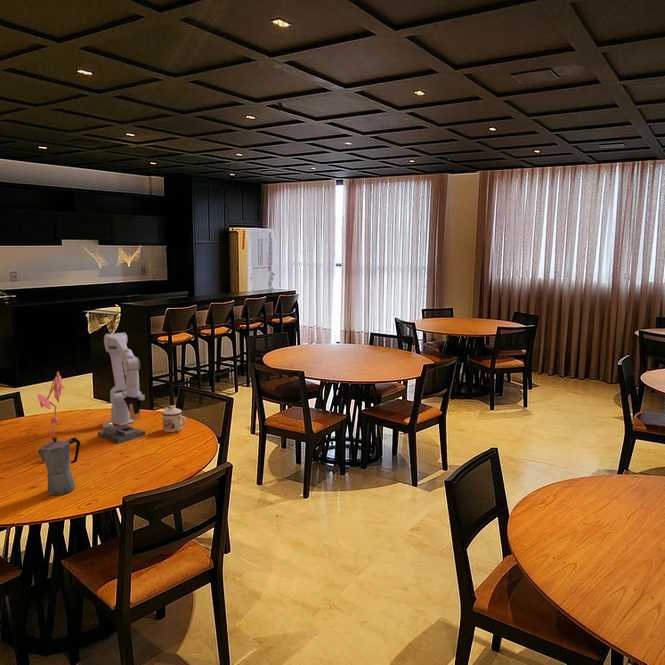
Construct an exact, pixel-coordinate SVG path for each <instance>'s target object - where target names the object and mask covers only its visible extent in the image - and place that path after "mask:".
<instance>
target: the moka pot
mask: <svg viewBox="0 0 665 665" xmlns="http://www.w3.org/2000/svg"><path fill="white" fill-rule="evenodd" d="M74 443H76V444H75V445H76V446H75V453H74V454H75V456H74V458H73V460H70V450H71V449H70V446H71V445H73V444H74ZM80 447H81V440H79V439H78V438H76V437H75V436H74V437H71V438H68V439H65V440H58V438H57V437H56V436H55V437H54V436H53V437H51V442H50V441H49V442H46V443H45V444H42V445H41V446H40V448H39V449H38V450H37V451H36V453H37V454H39V456H40V457H41V458H42V460H43V461H44V463H45V466H46V470H47V474H46V476H47V493H48V494H49V495H50V496H60V495H65V494H67V493H70V492H72V491H73V490H75V488H76V485H75V482H74V481H75V480H74V478H73V474H72V471H71V468H70V464H71V465H73V464H74V463H77V462H78V457H79V456H78V455H79V454H80V453H79V451H80Z"/></svg>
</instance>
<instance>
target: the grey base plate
mask: <svg viewBox="0 0 665 665" xmlns="http://www.w3.org/2000/svg"><path fill="white" fill-rule="evenodd" d="M144 436H146V431H145V430H143V429H140V428H137V427H134V426H130V425H128V424H124V425H118V426H115V427H114V423H113V422H111V420H109V421H105V422H104V421H103V422H102V430H101V431H97V437H100V439H105V440H106V441H107V440H108V441H110V442H112V443H114V444H121V443H126V442H127V441H132V440H134V439H138V438H141V437H144Z"/></svg>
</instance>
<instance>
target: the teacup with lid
mask: <svg viewBox="0 0 665 665" xmlns="http://www.w3.org/2000/svg"><path fill="white" fill-rule="evenodd" d="M161 414H162V428H163V430H162V431H163V432H164V433H168V432H173V433H175V432H174V431H178V430H180V429H182V430H183V427H184V426H185V425H186V423H187V419H186V417H185V416H183V415H182V414H183V411H182V409H180V408H177V407H175V406H174V405H170V406H169V407H168V408H167V409H164V410H162V412H161ZM178 432H179V431H178Z"/></svg>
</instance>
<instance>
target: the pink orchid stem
mask: <svg viewBox="0 0 665 665" xmlns="http://www.w3.org/2000/svg"><path fill="white" fill-rule="evenodd" d="M62 389H64V390H65V389H66V388H65V387H64V386H63V383H62V375H60V372H59V371H57V372H56V375H55V377H54V379H52V384H51V387H50V390H49V392H48V395H47V396H44V395H42V394H40V393H38V394H37V399H38V401H39V404H40V408H43V407H45V408H46V409H48V410H51V408H52V407H51V406H53V407H54V416H53V417H51V419H50V425H51V426H50V428H49V429H48V436H49V442H52V437H51V432H50V431H51V429H52V434H53V438H54V437H56V435H55V434H56V433H55V429H54V425H55V424H56V423H57V424H58V421H59V418H58V417H57V406H56V405H55V404H54V403H53V402H51V401H50V400H49V399H50V397H51V395H52V392H53V391H54V392H53V393H54V399H56V401H57V403H60V397H61V395H62ZM76 445H77V444H74V446H75V447H76ZM79 449H82V446H80V447H79ZM79 456H80V454H78V457H79ZM38 464H39V465H43V464H44V463H42V462H41V463H38Z"/></svg>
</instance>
